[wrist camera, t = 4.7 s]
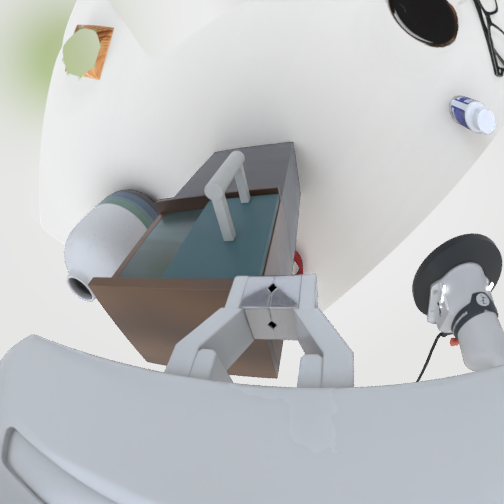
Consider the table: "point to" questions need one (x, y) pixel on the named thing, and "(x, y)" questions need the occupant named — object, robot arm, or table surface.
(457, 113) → the pill bottle
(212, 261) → the sliding door
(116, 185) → the table surface
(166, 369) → the robot arm
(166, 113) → the table surface
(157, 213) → the vase
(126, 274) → the cabinet
